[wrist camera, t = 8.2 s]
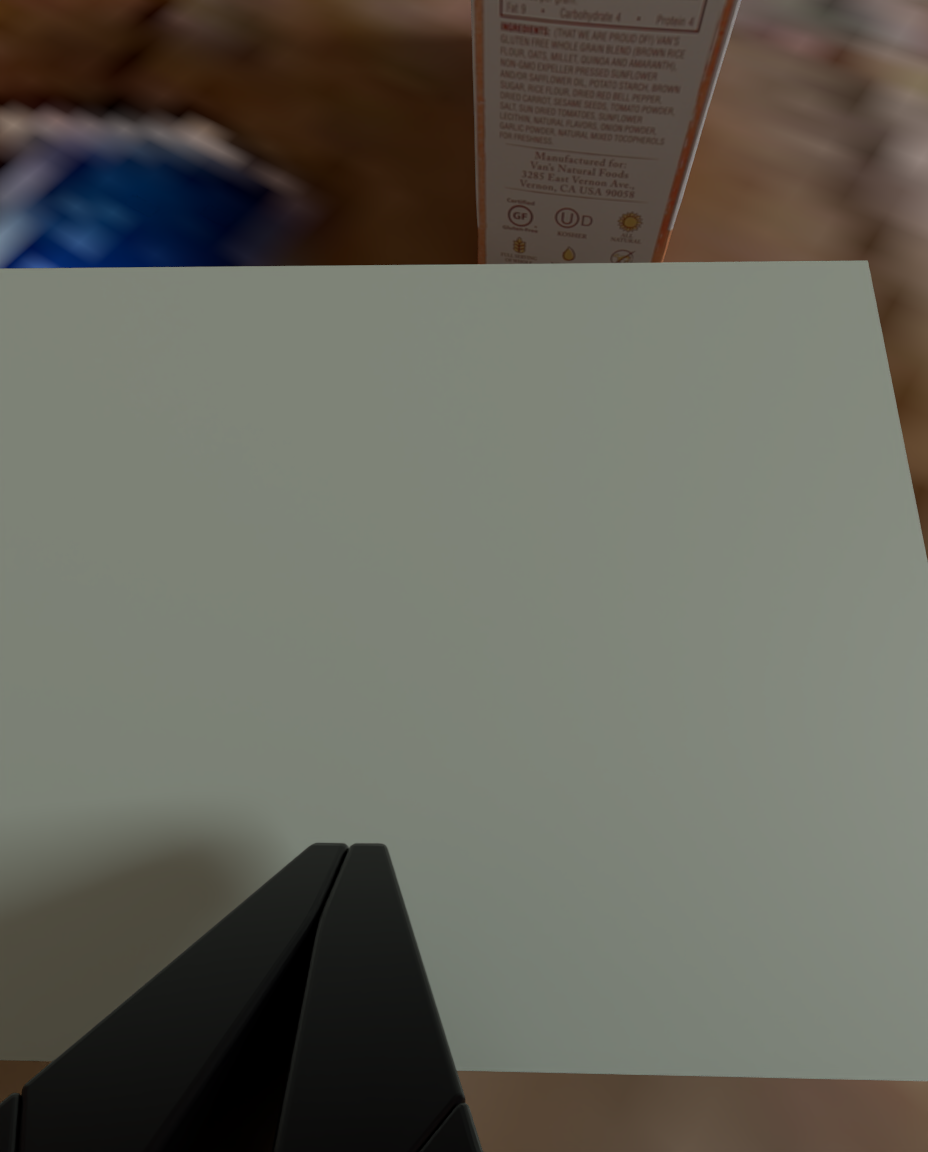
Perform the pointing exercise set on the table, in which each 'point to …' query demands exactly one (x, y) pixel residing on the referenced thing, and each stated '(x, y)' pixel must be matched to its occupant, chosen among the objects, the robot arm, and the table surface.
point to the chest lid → (474, 647)
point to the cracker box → (589, 123)
